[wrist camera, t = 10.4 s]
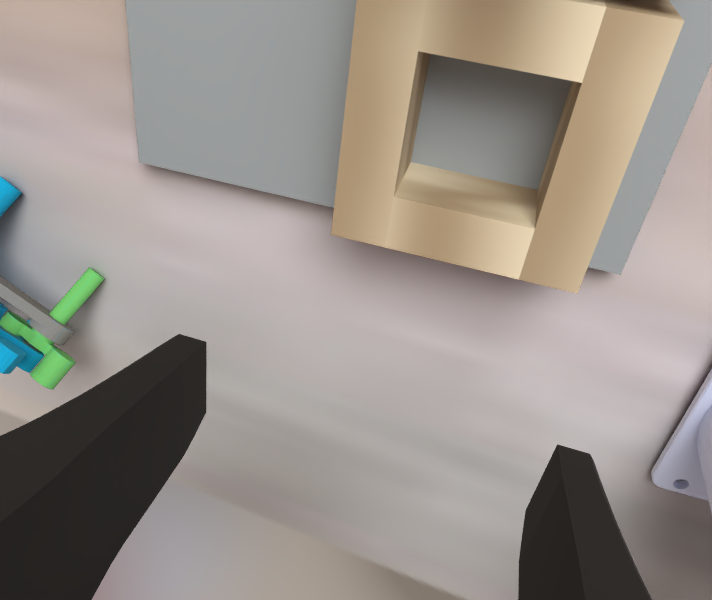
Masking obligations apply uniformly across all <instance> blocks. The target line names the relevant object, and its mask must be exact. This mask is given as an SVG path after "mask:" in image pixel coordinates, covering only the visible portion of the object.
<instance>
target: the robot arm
mask: <svg viewBox="0 0 712 600" xmlns="http://www.w3.org/2000/svg"><path fill="white" fill-rule="evenodd" d="M205 413H206V342H205V341H201V340H198V339H194V338H191V337H187V336H184V335H181V334H178V335H177V336H175V337H173V338H172V339H170V340H168V341H167V342H165V343H164V344H162V345H160V346H159V347H157V348H156V349H154V350H153V351H151V352H149V353H148V354H146V355H145V356H143V357H142V358H140V359H139V360H137V361H135V362H134V363H132V364H131V365H129V366H128V367H126V368H124V369H123V370H121V371H120V372H118V373H116V374H115V375H113V376H111V377H110V378H108V379H106V380H105V381H103V382H101V383H100V384H98V385H96V386H95V387H93V388H92V389H90V390H88V391H86V392H85V393H83V394H81V395H79V396H78V397H76V398H74V399H72V400H70V401H69V402H67V403H65V404H63V405H61V406H59V407H58V408H56V409H54V410H52V411H50V412H49V413H47V414H45V415H43V416H41V417H39V418H37V419H35V420H33V421H31V422H29V423H27V424H25V425H23V426H21V427H19V428H17V429H15V430H12V431H10V432H8V433H6V434H4V435H1V436H0V600H91V599H92V598H93V596H94V594H95V592H96V590H97V589H98V587H99V585H100V583H101V581H102V579H103V578H104V576H105V574H106V572H107V570H108V569H109V567H110V565H111V563H112V562H113V560H114V558H115V557H116V555H117V553H118V552H119V550H120V549H121V547H122V546H123V544H124V543H125V541H126V540H127V538H128V537H129V535H130V534H131V532H132V531H133V529H134V528H135V527H136V525H137V524H138V522H139V521H140V519H141V518H142V516H143V515H144V513H145V512H146V510H147V509H148V507H149V506H150V505H151V503H152V502H153V500H154V499H155V497H156V496H157V494H158V493H159V492H160V490H161V489H162V487H163V486H164V484H165V483H166V481H167V480H168V478H169V477H170V475H171V474H172V472H173V471H174V469H175V468H176V466H177V465H178V463H179V462H180V460H181V459H182V457H183V456H184V454H185V453H186V451H187V449H188V447H189V445H190V443H191V441H192V439H193V437H194V436H195V434H196V432H197V430H198V427H199V425H200V423H201V421H202V419H203V417H204V415H205ZM651 476H652V481H653V483H654V484H655V485H656V486H658V487H660V488H663V489H667V490H670V491H674V492H678V493H681V494H685V495H689V496H692V497H696V498H699V499H703V500H707V501H709V505H710V509H711V514H712V369H711V371H710V372H709V374H708V376H707V378H706V379H705V381H704V383H703V384H702V386H701V388H700V389H699V391H698V393H697V394H696V396H695V398H694V399H693V401H692V403H691V405H690V406H689V408H688V410H687V411H686V413H685V415H684V416H683V418H682V420H681V421H680V423H679V425H678V427H677V428H676V430H675V432H674V433H673V435H672V437H671V438H670V440H669V442H668V443H667V445H666V447H665V448H664V450H663V452H662V454H661V455H660V457H659V459H658V460H657V462H656V464H655V465H654V467H653V469H652V472H651ZM679 479H683V481H676V480H679ZM518 600H652V599H651V597H650V595H649V593H648V591H647V589H646V587H645V585H644V583H643V581H642V579H641V576H640V574H639V572H638V570H637V568H636V566H635V563H634V561H633V559H632V557H631V554H630V552H629V550H628V548H627V545H626V543H625V541H624V539H623V536H622V534H621V532H620V529H619V527H618V524H617V522H616V520H615V517H614V514H613V512H612V509H611V507H610V504H609V502H608V499H607V497H606V494H605V491H604V489H603V486H602V483H601V480H600V478H599V475H598V472H597V469H596V466H595V463H594V461H593V459H592V457H591V455H590V454H588V453H585V452H581V451H578V450H574V449H571V448H568V447H564V446H561V445H557V446H556V449H555V451H554V453H553V455H552V457H551V459H550V461H549V463H548V465H547V467H546V469H545V471H544V474H543V476H542V478H541V480H540V482H539V484H538V486H537V488H536V490H535V492H534V494H533V496H532V498H531V501H530V503H529V505H528V507H527V509H526V512H525V519H524V527H523V534H522V542H521V550H520V558H519V599H518Z"/></svg>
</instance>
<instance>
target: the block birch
mask: <svg viewBox="0 0 712 600" xmlns="http://www.w3.org/2000/svg"><path fill="white" fill-rule="evenodd" d="M683 24H684V20H683V18H682V17H681V16H680V14H679V13H678V12H677V10H676V9H675V8H674V7H673V5H672V4H671V3H670V1H669V0H357V2H356V11H355V21H354V30H353V39H352V48H351V57H350V66H349V75H348V84H347V93H346V102H345V112H344V121H343V130H342V139H341V148H340V157H339V166H338V175H337V184H336V194H335V203H334V212H333V221H332V230H331V235H335V236H339V237H343V238H347V239H351V240H355V241H360V242H364V243H368V244H372V245H376V246H381V247H385V248H389V249H393V250H397V251H401V252H406V253H410V254H414V255H418V256H422V257H427V258H431V259H435V260H439V261H443V262H447V263H452V264H456V265H460V266H464V267H468V268H472V269H477V270H481V271H485V272H489V273H493V274H498V275H502V276H506V277H510V278H514V279H518V280H523V281H527V282H531V283H535V284H539V285H543V286H548V287H552V288H556V289H560V290H564V291H569V292H573V293H577V294H578V291H579V288H580V286H581V283H582V281H583V278H584V276H585V273H586V271H587V268H588V266H589V263H590V260H591V258H592V255H593V253H594V250H595V248H596V245H597V243H598V240H599V238H600V235H601V232H602V230H603V227H604V225H605V222H606V220H607V217H608V215H609V212H610V210H611V207H612V204H613V202H614V199H615V197H616V194H617V192H618V189H619V187H620V184H621V181H622V179H623V176H624V174H625V171H626V169H627V166H628V164H629V161H630V159H631V156H632V153H633V151H634V148H635V146H636V143H637V141H638V138H639V136H640V133H641V131H642V128H643V125H644V123H645V120H646V118H647V115H648V113H649V110H650V108H651V105H652V103H653V100H654V97H655V95H656V92H657V90H658V87H659V85H660V82H661V80H662V77H663V75H664V72H665V69H666V67H667V64H668V62H669V59H670V57H671V54H672V52H673V49H674V46H675V44H676V41H677V39H678V36H679V34H680V31H681V29H682V26H683ZM430 54H435V55H440V56H446V57H451V58H456V59H461V60H466V61H472V62H477V63H482V64H487V65H492V66H497V67H503V68H508V69H513V70H518V71H523V72H528V73H534V74H539V75H544V76H549V77H554V78H559V79H565V80H570V81H572V82H571V85H570V88H569V92H568V95H567V98H566V101H565V104H564V108H563V111H562V114H561V117H560V120H559V124H558V127H557V130H556V133H555V136H554V140H553V143H552V146H551V149H550V153H549V156H548V159H547V162H546V165H545V169H544V172H543V175H542V178H541V181H540V185H539V188H538V190H536V189H532V188H527V187H522V186H518V185H513V184H509V183H504V182H500V181H495V180H490V179H486V178H481V177H477V176H472V175H468V174H463V173H458V172H454V171H449V170H445V169H440V168H436V167H431V166H426V165H422V164H417V163H413V162H411V159H412V154H413V148H414V142H415V137H416V131H417V126H418V120H419V115H420V109H421V104H422V98H423V92H424V87H425V81H426V76H427V70H428V65H429V59H430Z"/></svg>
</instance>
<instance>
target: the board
mask: <svg viewBox="0 0 712 600" xmlns="http://www.w3.org/2000/svg"><path fill="white" fill-rule="evenodd" d="M669 1H670V3H671V4H672V5H673V7H674V8H675V9H676V10H677V12H678V13H679V14H680V16H681V17H682V18H683V20H684V24H683V26H682V29H681V31H680V34H679V36H678V39H677V41H676V44H675V46H674V49H673V52H672V54H671V57H670V59H669V62H668V64H667V67H666V69H665V72H664V75H663V77H662V80H661V82H660V85H659V87H658V90H657V92H656V95H655V97H654V100H653V103H652V105H651V108H650V110H649V113H648V115H647V118H646V120H645V123H644V125H643V128H642V131H641V133H640V136H639V138H638V141H637V143H636V146H635V148H634V151H633V153H632V156H631V159H630V161H629V164H628V166H627V169H626V171H625V174H624V176H623V179H622V181H621V184H620V187H619V189H618V192H617V194H616V197H615V199H614V202H613V204H612V207H611V210H610V212H609V215H608V217H607V220H606V222H605V225H604V227H603V230H602V232H601V235H600V238H599V240H598V243H597V245H596V248H595V250H594V253H593V255H592V258H591V260H590V263H589V266H588V267H589V268H594V269H598V270H602V271H607V272H611V273H615V274H619V275H621V272H622V270H623V268H624V266H625V263H626V261H627V259H628V256H629V254H630V252H631V249H632V247H633V245H634V242H635V240H636V238H637V235H638V233H639V231H640V228H641V226H642V224H643V221H644V219H645V217H646V215H647V212H648V210H649V208H650V205H651V203H652V201H653V198H654V196H655V194H656V191H657V189H658V187H659V184H660V182H661V180H662V177H663V175H664V173H665V171H666V168H667V166H668V164H669V161H670V159H671V157H672V154H673V152H674V150H675V147H676V145H677V143H678V140H679V138H680V136H681V133H682V131H683V129H684V126H685V124H686V122H687V120H688V117H689V115H690V113H691V110H692V108H693V106H694V103H695V101H696V99H697V96H698V94H699V92H700V89H701V87H702V85H703V82H704V80H705V78H706V76H707V73H708V71H709V69H710V66H711V64H712V0H669ZM125 2H126V14H127V25H128V37H129V49H130V61H131V73H132V84H133V96H134V108H135V120H136V131H137V143H138V155H139V163H143V164H148V165H152V166H156V167H160V168H165V169H169V170H173V171H178V172H182V173H186V174H190V175H195V176H199V177H203V178H208V179H212V180H216V181H220V182H225V183H229V184H233V185H238V186H242V187H246V188H250V189H255V190H259V191H263V192H268V193H272V194H276V195H281V196H285V197H289V198H293V199H298V200H302V201H306V202H311V203H315V204H319V205H323V206H328V207H332V208H334V203H335V194H336V184H337V175H338V166H339V157H340V148H341V139H342V130H343V121H344V112H345V102H346V93H347V84H348V75H349V66H350V57H351V48H352V39H353V30H354V21H355V11H356V2H357V0H125ZM571 82H572V81H570V80H565V79H559V78H554V77H549V76H544V75H539V74H534V73H528V72H523V71H518V70H513V69H508V68H503V67H497V66H492V65H487V64H482V63H477V62H472V61H466V60H461V59H456V58H451V57H446V56H440V55H435V54H430V59H429V65H428V70H427V76H426V81H425V87H424V92H423V98H422V104H421V109H420V115H419V120H418V126H417V131H416V137H415V142H414V148H413V154H412V159H411V162H413V163H417V164H422V165H426V166H431V167H436V168H440V169H445V170H449V171H454V172H458V173H463V174H468V175H472V176H477V177H481V178H486V179H490V180H495V181H500V182H504V183H509V184H513V185H518V186H522V187H527V188H532V189H536V190H538V188H539V185H540V181H541V178H542V175H543V172H544V169H545V165H546V162H547V159H548V156H549V153H550V149H551V146H552V143H553V140H554V136H555V133H556V130H557V127H558V124H559V120H560V117H561V114H562V111H563V108H564V104H565V101H566V98H567V95H568V92H569V88H570V85H571Z"/></svg>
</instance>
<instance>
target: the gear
mask: <svg viewBox="0 0 712 600" xmlns="http://www.w3.org/2000/svg"><path fill="white" fill-rule="evenodd" d="M21 194H22V192H20V191H19V190H18V189H17V188H15V187H14V186H13V185H11V184H10V183H9V182H7V181H6V180H5V179H3V178H2V177H1V176H0V217H1V216H2V214H3V213H4V212H5V211H6V210H7V209H8V208H9V207H10V206H11V205H12V203H13V202H14V201H15V200H16V199H17V198H18V197H19V196H20V195H21ZM103 280H104V278H103V277H102V276H100V275H99V274H98V273H97V272H95V271H94V270H93V269H91V268H88V270H87V271H86V272H85V273H84V274H83V275H82V276H81V278H80V279H79V280H78V281H77V282H76V283H75V285H74V286H73V287H72V288H71V289H70V290H69V291H68V293H67V294H66V295H65V296H64V297H63V298H62V299H61V301H60V302H59V303H58V304H57V305H56V306H55V308H54V309H53V310H52V311H50V310H48V309H47V308H45V307H44V306H42V305H41V304H40V303H38V302H37V301H35V300H34V299H32V298H31V297H30V296H28V295H27V294H25V293H24V292H22V291H21V290H19V289H18V288H17V287H15V286H14V285H12V284H11V283H9V282H8V281H7V280H5V279H4V278H2V277H1V276H0V297H1V298H3V299H4V300H6V301H7V302H9V303H10V304H11V305H13V306H14V307H16V308H17V309H19V310H20V311H22V312H23V313H25V314H26V315H27V316H29V317H30V318H29V319H28V320H27V322H28V323H27V322H26V321H25V320H24V319H22V318H21V317H19V316H18V315H16V314H14V313H12V312H10V311H8V312H7V313H6V314H5V312H6V311H7V310H8V308H6V307H5V306H4V305H2V304H1V303H0V373H2V374H9V373H11V372H12V371H13V370H14V369H15V367H16V366H17V367H19V368H21V369H22V370H24V371H26V372H29V373H30V372H31V371H32V370H33V369H34V367H35V366H36V365H37V364H38V363H39V362H40V360H41V359H42V358H43V357H44V354H45V355H46V356H45V357H44V358H43V359H42V361H41V362H40V363H39V364H38V365H37V366H36V368H35V369H34V370H33V371H32V372H31V373H30V375H31V377H32V378H33V379H34V380H36V381H37V382H38V383H40V384H41V385H43V386H45V387H46V388H49V389H54V388H55V386H56V385H57V384H58V383H59V382H60V380H61V379H62V378H63V377H64V376H65V375H66V373H67V372H68V371H69V370H70V369H71V367H72V366H73V365H74V364H75V363H76V362H75V361H74V359H72V358H71V357H70V356H69V355H68V354H66V353H65V352H63V351H62V350H60V349H58V348H57V347H55V346H54V345H53V344H54V343H56V344H59V345H64V343H65V342H66V341H67V340H68V339H69V338H70V336H71V335H72V334H73V333H74V332H75V331H74V329H73V328H72V327H71V326H70V325H69V324H67V322H68V321H69V320H70V318H71V317H72V316H73V315H74V314H75V313H76V311H77V310H78V309H79V308H80V307H81V306H82V304H83V303H84V302H85V301H86V300H87V299H88V298H89V296H90V295H91V294H92V293H93V292H94V291H95V289H96V288H97V287H98V286H99V285H100V284H101V282H102V281H103ZM4 314H5V315H4ZM3 315H4V317H3V318H1V317H2V316H3ZM30 325H31V326H32V327H31V326H30ZM43 353H44V354H43Z"/></svg>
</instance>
